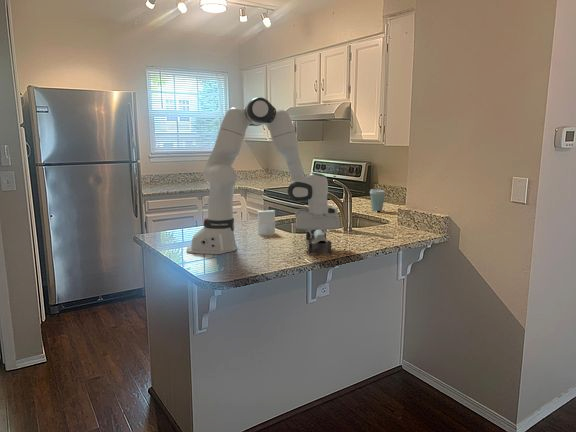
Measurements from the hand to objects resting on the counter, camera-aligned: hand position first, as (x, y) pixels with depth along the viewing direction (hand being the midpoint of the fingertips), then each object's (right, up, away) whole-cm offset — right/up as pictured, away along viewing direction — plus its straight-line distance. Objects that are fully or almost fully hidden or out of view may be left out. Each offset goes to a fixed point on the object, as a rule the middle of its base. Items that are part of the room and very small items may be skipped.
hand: (317, 238), depth 199 cm
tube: (+1, -3, 0) cm, 3 cm away
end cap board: (0, -4, +1) cm, 4 cm away
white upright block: (-25, +1, +28) cm, 38 cm away
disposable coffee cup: (+47, +13, +93) cm, 105 cm away
